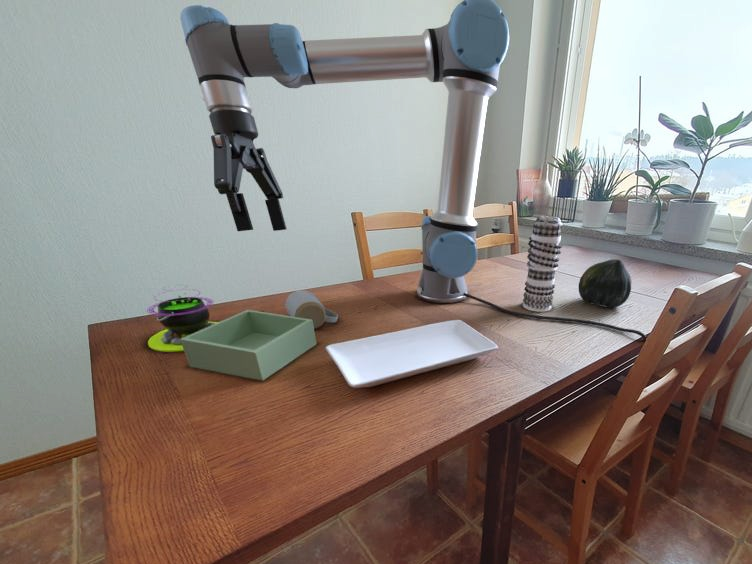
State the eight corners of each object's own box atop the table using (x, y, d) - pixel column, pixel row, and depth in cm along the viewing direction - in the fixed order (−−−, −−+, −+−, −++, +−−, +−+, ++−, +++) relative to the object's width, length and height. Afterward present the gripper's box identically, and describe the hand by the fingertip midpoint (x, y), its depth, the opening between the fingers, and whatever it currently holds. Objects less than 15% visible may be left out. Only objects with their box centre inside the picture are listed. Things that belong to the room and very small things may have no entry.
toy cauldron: (167, 324, 86) (150, 277, 81) (240, 321, 90) (227, 276, 85) (132, 354, 74) (109, 301, 68) (218, 349, 77) (202, 298, 72)
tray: (500, 360, 80) (501, 345, 78) (352, 402, 63) (350, 385, 62) (459, 331, 92) (459, 318, 90) (326, 360, 76) (323, 345, 74)
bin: (316, 344, 82) (312, 319, 79) (262, 380, 68) (255, 352, 65) (253, 333, 85) (247, 309, 82) (189, 366, 71) (179, 339, 68)
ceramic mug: (297, 334, 85) (291, 302, 82) (288, 322, 91) (282, 291, 87) (343, 325, 91) (340, 295, 88) (332, 314, 97) (328, 286, 93)
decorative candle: (514, 305, 110) (523, 215, 98) (535, 299, 116) (546, 213, 104) (538, 314, 104) (551, 220, 93) (558, 307, 110) (573, 218, 98)
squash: (574, 276, 121) (589, 247, 107) (619, 280, 122) (640, 252, 107) (574, 315, 117) (589, 290, 102) (621, 319, 117) (643, 296, 103)
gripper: (249, 132, 83) (276, 231, 90) (160, 94, 60) (206, 233, 67) (281, 128, 83) (306, 228, 90) (205, 88, 60) (247, 228, 67)
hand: (264, 230), depth 79 cm, fingers open, 13 cm apart
